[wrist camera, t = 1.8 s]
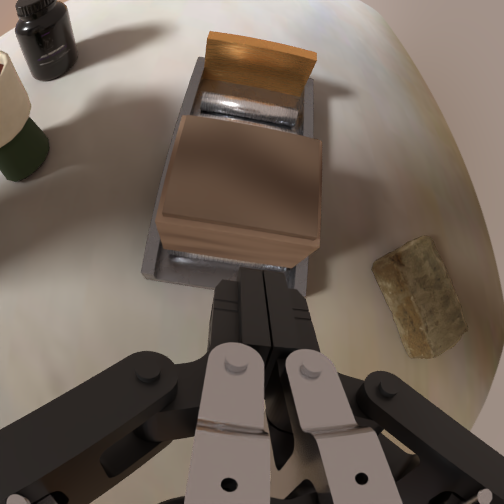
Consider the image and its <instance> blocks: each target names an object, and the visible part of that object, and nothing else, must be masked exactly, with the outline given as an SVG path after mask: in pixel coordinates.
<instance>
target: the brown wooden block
mask: <svg viewBox="0 0 504 504" xmlns="http://www.w3.org/2000/svg"><path fill="white" fill-rule="evenodd" d="M321 195H322V141H320V140H318V139H314V138H310V137H305V136H301V135H297V134H292V133H288V132H283V131H279V130H274V129H269V128H264V127H259V126H254V125H249V124H243V123H238V122H232V121H226V120H220V119H213V118H207V117H200V116H192V115H187V116H186V115H182V118H181V121H180V125H179V128H178V132H177V135H176V139H175V142H174V146H173V150H172V153H171V157H170V161H169V165H168V169H167V173H166V177H165V181H164V185H163V189H162V193H161V197H160V202H159V206H158V210H157V215H156V219H155V223H156V226H157V230H158V233H159V236H160V239H161V242H162V246H163V249H167V250H174V251H180V252H187V253H193V254H200V255H206V256H213V257H219V258H226V259H233V260H239V261H246V262H253V263H259V264H266V265H273V266H279V267H286V268H293V267H294V266H295V265H297V264H298V263H300V262H301V261H302V260H304V259H305V258H306V257H308V256H309V255H310V254H312V253H313V252H314V251H316V250H317V249H318V248H320V227H321Z"/></svg>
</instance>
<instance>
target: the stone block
mask: <svg viewBox="0 0 504 504" xmlns="http://www.w3.org/2000/svg"><path fill="white" fill-rule="evenodd" d="M372 271H373V273H374V276H375V279H376V281H377V283H378V285H379V287H380V289H381V291H382V293H383V295H384V297H385V300H386V303H387V304H388V306H389V308H390V310H391V311H392V313H393V320H394V321H395V323H396V325H397V328H398V330H399V334H400V338H401V340H402V343H403V345H404V348H405V350H406V352H407V353H408V355H409V357H410V358H414V359H415V358H421V359H422V358H425V359H429V358H434V357H436V356H438V355H440V354H442V353H443V352H445V351H446V350H449V349H451V348H452V347H454V346H455V345H456V343H457V342H458V341H459V340H460V338H461V336H462V334H463V333H464V332H466V331H468V326H467V324H466V322H465V319H464V316H463V313H462V307H461V304H460V302H459V299H458V297H457V295H456V292H455V289H454V287H453V284H452V282H451V279H450V277H449V275H448V272H447V270H446V268H445V265H444V263H443V261H442V259H441V258H440V256H439V254H438V252H437V249H436V247H435V244H434V242H433V240H432V238H431V237H429V236H425V235H424V236H421V237H419V238H416V239H414V240H412V241H409V242H407V243H406V244H404V245H403V246H402V247H400V248H398V249H396V250H395V251H393V252H390V253H388V254H386V255H385V256H383V257H381V258H379V259H377V260H376V261H375V262H374V263H373V267H372Z"/></svg>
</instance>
